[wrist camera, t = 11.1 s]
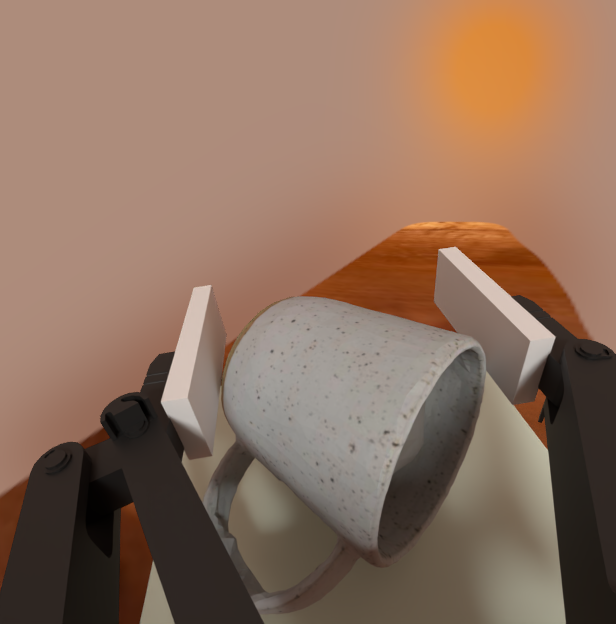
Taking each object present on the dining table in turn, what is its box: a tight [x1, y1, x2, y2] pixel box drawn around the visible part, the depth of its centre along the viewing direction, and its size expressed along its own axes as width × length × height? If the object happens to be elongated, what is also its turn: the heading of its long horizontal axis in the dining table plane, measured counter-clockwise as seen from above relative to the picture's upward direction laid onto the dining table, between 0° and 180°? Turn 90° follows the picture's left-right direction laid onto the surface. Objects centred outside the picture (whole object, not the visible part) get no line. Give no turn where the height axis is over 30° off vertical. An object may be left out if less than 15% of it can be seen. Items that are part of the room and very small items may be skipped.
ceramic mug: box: [202, 297, 486, 614], centre depth 13 cm, size 11×8×8 cm
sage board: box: [140, 371, 566, 624], centre depth 18 cm, size 18×15×2 cm
